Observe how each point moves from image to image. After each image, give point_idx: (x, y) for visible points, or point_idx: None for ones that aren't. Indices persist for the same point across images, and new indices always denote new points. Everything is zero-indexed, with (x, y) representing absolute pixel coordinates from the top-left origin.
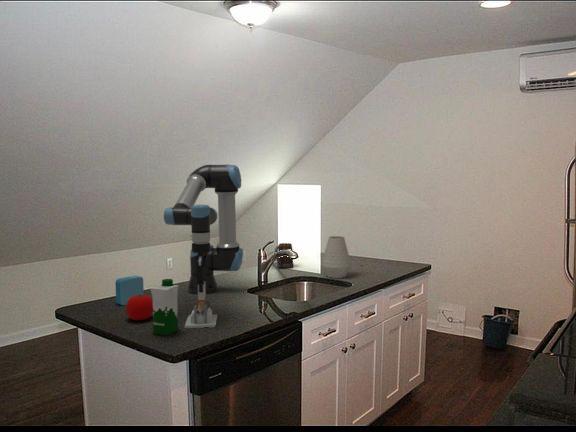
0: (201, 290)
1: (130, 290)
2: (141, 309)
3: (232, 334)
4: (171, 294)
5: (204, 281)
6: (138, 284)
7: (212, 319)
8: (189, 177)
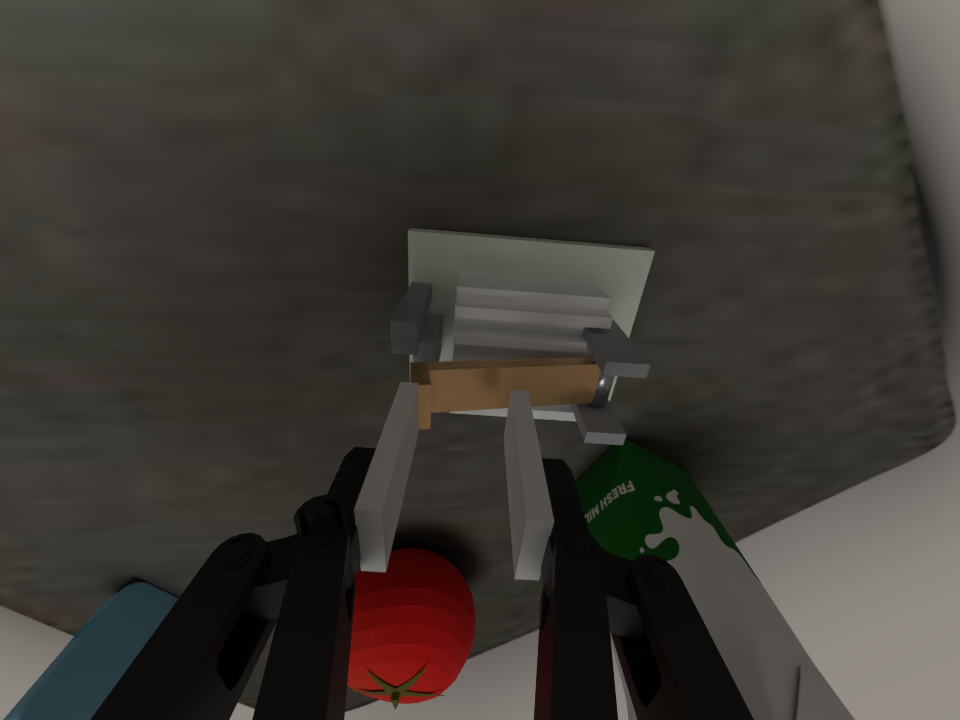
0: (570, 487)
1: None
2: (471, 621)
3: (859, 123)
4: (835, 707)
5: (368, 518)
6: (82, 689)
7: (527, 268)
8: None
